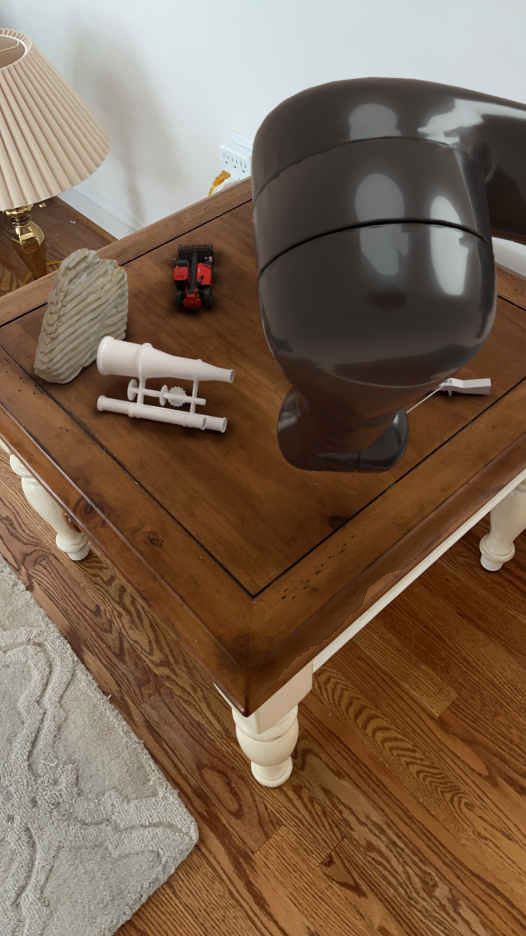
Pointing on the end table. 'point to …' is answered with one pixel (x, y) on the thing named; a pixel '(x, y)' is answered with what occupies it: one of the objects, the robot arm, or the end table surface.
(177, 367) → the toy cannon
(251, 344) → the end table surface
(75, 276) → the fossil tooth
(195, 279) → the loader
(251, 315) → the end table surface
